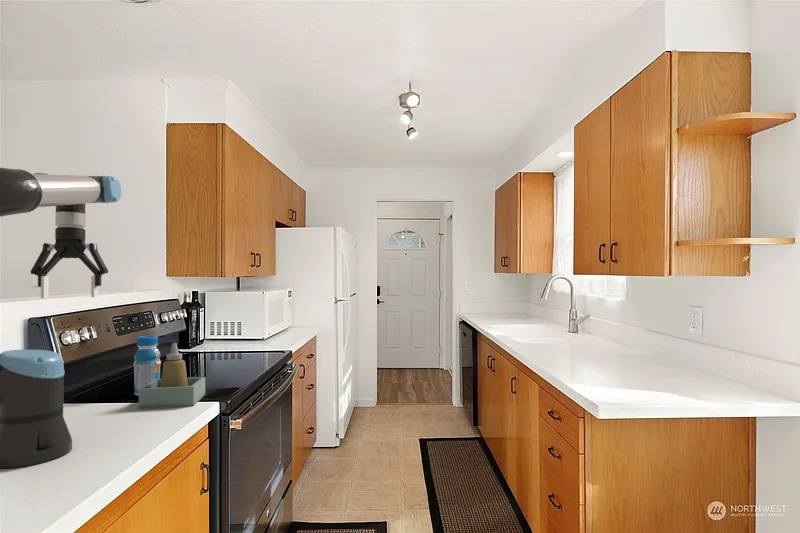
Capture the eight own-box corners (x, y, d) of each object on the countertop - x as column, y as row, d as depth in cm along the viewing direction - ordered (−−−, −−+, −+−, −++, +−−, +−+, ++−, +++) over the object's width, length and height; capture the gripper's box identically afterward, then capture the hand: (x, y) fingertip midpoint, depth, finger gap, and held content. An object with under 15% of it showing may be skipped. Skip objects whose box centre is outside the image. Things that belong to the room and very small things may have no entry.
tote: (193, 405, 149) (193, 386, 150) (138, 409, 147) (138, 389, 147) (205, 394, 165) (205, 377, 165) (155, 397, 162) (155, 379, 163)
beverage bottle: (140, 397, 162) (140, 338, 163) (129, 394, 168) (129, 337, 168) (165, 392, 169) (165, 336, 170) (153, 389, 174) (153, 334, 175)
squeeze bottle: (180, 401, 152) (180, 344, 152) (155, 401, 152) (155, 344, 153) (192, 395, 160) (192, 341, 160) (168, 395, 160) (168, 341, 161)
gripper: (120, 229, 150) (119, 296, 149) (31, 228, 146) (31, 298, 145) (110, 226, 143) (109, 297, 142) (16, 225, 139) (15, 298, 138)
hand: (69, 297), depth 144 cm, fingers open, 13 cm apart
